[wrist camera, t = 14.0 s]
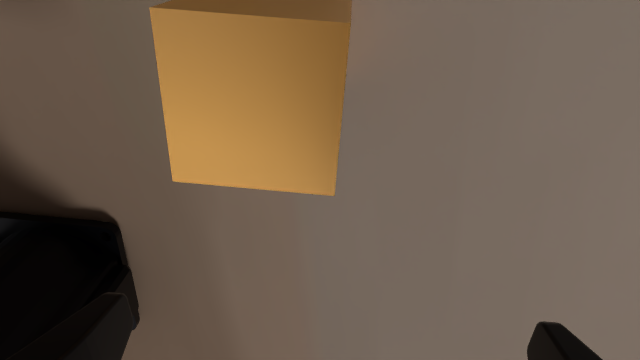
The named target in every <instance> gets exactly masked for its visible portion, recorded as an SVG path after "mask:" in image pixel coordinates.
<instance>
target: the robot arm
mask: <svg viewBox="0 0 640 360" xmlns="http://www.w3.org/2000/svg"><path fill="white" fill-rule="evenodd" d="M105 232H106V233H108V234H109V235H107V234H106V233H105ZM138 307H139V305H138V300H137V296H136V291H135V286H134V282H133V277H132V272H131V270H130V268H129V266H128V263H127V258H126V253H125V249H124V244H123V240H122V235H121V231H120V229H119V228H118V227H117V226H116V225H114V224H113V223H109V222H101V221H91V220H80V219H70V218H59V217H49V216H38V215H28V214H17V213H7V212H0V360H121V358H122V356H123V353H124V350H125V347H126V345H127V342H128V339H129V336H130V334H131V331H132V330H134V329H135V328H136V327H137V325H138V323H139V321H140V317H139V313H138ZM527 357H528V360H602V359H601V358H600V357H599V356H598V355H597V354H596V353H594V352H593V351H592V350H591V349H590V348H589V347H587V346H586V345H585V344H584V343H583V342H582V341H580V340H579V339H578V338H577V337H576V336H575V335H574V334H572V333H571V332H570V331H569V330H568V329H567V328H565V327H564V326H563V325H561V324H560V323H556V322H539V323H538V324H537V325H536V327H535V330H534V332H533V335H532V337H531V340H530V342H529V345H528V348H527Z"/></svg>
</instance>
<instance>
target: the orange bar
mask: <svg viewBox="0 0 640 360" xmlns="http://www.w3.org/2000/svg"><path fill="white" fill-rule="evenodd" d="M351 4H352V0H171V1H168V2H165V3H162V4H159V5H156V6H153V7H149V8H150V15H151V23H152V30H153V38H154V45H155V52H156V60H157V67H158V75H159V82H160V90H161V97H162V105H163V112H164V120H165V127H166V135H167V142H168V150H169V157H170V165H171V172H172V180H173V181H174V182H185V183H196V184H208V185H219V186H230V187H241V188H252V189H263V190H274V191H285V192H296V193H307V194H318V195H329V196H335V185H336V174H337V164H338V153H339V143H340V132H341V121H342V111H343V100H344V89H345V79H346V68H347V58H348V47H349V36H350V26H351Z"/></svg>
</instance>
